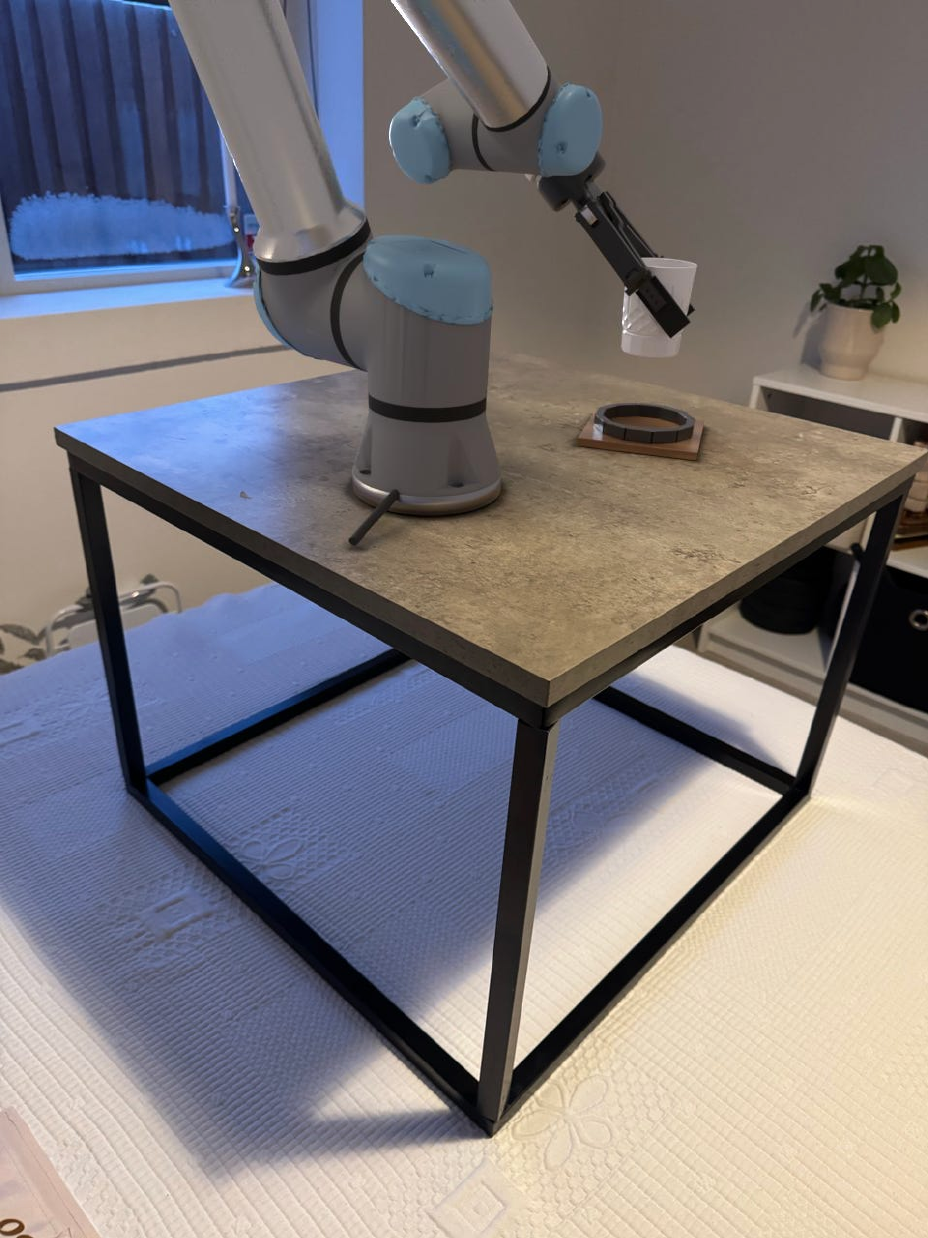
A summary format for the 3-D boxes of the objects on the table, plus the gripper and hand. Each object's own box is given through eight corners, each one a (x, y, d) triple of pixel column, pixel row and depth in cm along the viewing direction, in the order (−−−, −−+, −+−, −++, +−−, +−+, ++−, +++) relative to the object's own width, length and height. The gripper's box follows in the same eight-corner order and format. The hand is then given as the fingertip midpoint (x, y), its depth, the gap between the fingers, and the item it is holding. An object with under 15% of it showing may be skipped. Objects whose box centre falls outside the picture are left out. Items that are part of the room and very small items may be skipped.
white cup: (647, 342, 107) (659, 256, 102) (696, 355, 102) (711, 265, 97) (602, 348, 103) (612, 259, 98) (650, 362, 98) (664, 269, 93)
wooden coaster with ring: (695, 460, 99) (699, 439, 98) (576, 445, 103) (578, 425, 101) (703, 427, 111) (706, 407, 110) (596, 414, 114) (598, 395, 113)
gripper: (568, 133, 85) (705, 316, 90) (599, 134, 103) (714, 288, 107) (513, 190, 89) (647, 363, 93) (552, 182, 106) (664, 329, 111)
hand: (682, 323), depth 100 cm, fingers closed on white cup, 8 cm apart
